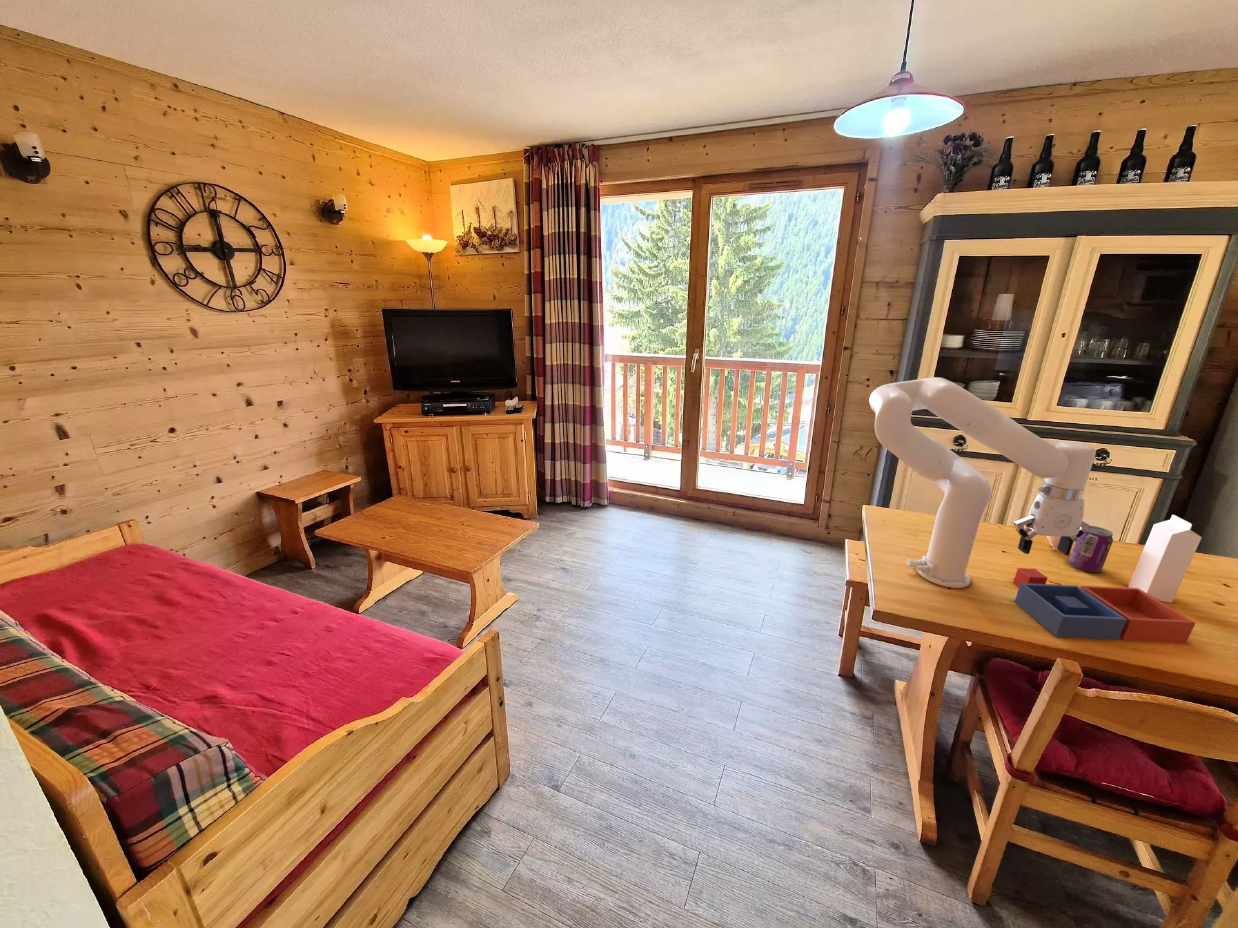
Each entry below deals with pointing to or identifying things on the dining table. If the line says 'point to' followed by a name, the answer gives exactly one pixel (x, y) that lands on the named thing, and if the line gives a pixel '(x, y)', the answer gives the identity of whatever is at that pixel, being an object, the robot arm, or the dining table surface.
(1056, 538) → the spinning top
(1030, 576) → the red block
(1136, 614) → the red bin
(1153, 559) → the milk
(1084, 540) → the beverage can
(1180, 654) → the dining table surface
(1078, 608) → the blue block
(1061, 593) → the blue bin
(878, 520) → the dining table surface
